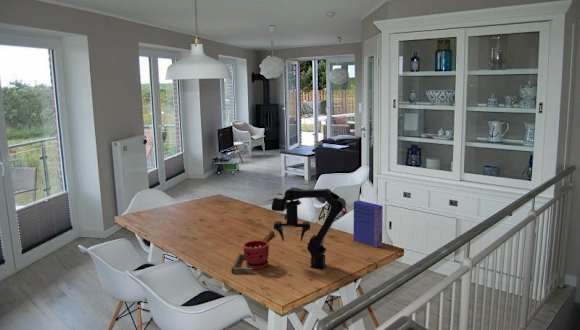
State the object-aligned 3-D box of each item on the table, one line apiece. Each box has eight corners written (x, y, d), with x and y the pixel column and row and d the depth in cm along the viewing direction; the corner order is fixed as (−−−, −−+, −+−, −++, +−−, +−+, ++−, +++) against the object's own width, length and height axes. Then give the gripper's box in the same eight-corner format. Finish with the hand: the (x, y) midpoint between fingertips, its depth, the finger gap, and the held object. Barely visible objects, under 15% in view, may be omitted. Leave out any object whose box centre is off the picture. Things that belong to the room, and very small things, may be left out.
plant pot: (272, 261, 247) (271, 240, 245) (265, 271, 235) (264, 248, 233) (248, 260, 250) (247, 238, 248) (240, 269, 238) (239, 247, 236)
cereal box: (382, 245, 269) (382, 205, 264) (376, 247, 265) (377, 207, 261) (358, 238, 281) (359, 200, 277) (353, 240, 278) (353, 201, 274)
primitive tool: (265, 246, 273) (264, 240, 272) (256, 245, 274) (256, 239, 274) (275, 235, 291) (275, 230, 290) (266, 235, 292) (266, 230, 292)
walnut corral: (258, 258, 253) (258, 254, 252) (252, 273, 233) (252, 268, 232) (239, 258, 253) (238, 253, 253) (231, 273, 233) (231, 268, 233)
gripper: (310, 208, 248) (310, 236, 250) (275, 208, 249) (276, 236, 252) (309, 214, 237) (310, 243, 239) (273, 213, 238) (273, 243, 241)
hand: (292, 241), depth 243 cm, fingers open, 9 cm apart
